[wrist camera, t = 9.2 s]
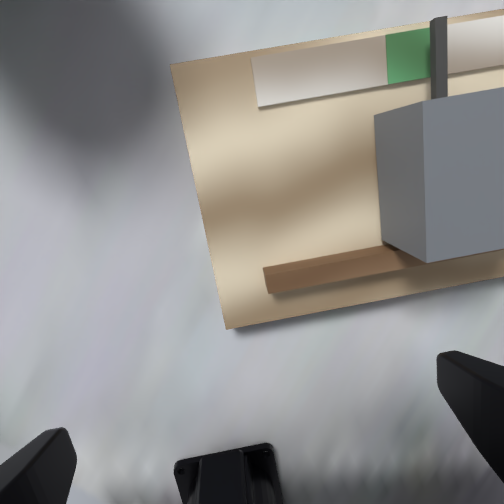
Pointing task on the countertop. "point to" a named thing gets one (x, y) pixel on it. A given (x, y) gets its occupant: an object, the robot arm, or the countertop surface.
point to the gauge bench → (318, 165)
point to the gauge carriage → (442, 167)
